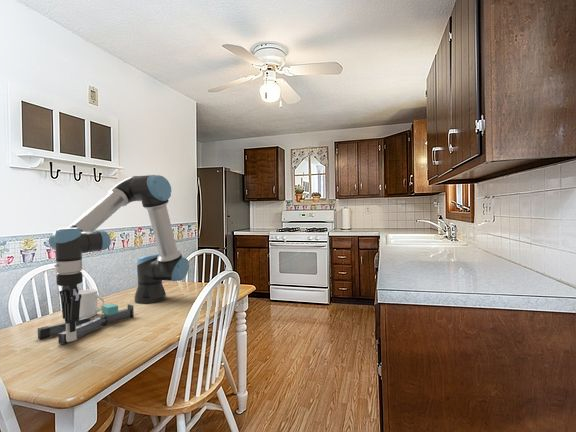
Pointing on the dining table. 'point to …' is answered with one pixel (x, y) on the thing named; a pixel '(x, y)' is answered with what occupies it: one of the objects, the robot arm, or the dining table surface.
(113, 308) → the tab
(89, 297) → the mug
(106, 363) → the dining table surface
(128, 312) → the tongs body
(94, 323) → the tongs jaw
